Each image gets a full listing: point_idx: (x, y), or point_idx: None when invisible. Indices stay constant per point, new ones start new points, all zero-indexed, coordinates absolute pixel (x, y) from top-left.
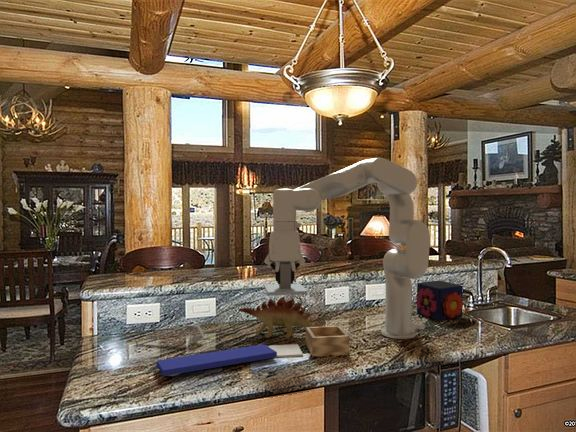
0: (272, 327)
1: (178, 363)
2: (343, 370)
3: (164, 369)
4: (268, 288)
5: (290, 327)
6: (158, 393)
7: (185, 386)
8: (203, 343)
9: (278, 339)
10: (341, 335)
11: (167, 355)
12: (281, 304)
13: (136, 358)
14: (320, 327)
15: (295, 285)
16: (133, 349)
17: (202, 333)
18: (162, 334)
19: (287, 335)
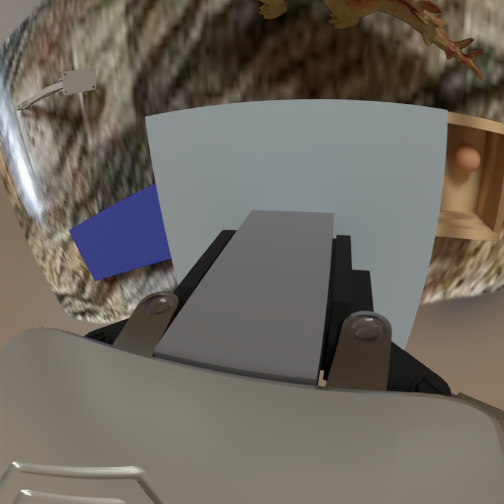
0: (282, 3)
1: (100, 254)
2: (421, 300)
3: (95, 278)
4: (181, 244)
5: (352, 20)
6: (117, 306)
7: (138, 296)
8: (106, 80)
9: (307, 38)
10: (495, 181)
11: (68, 160)
12: None
13: (41, 174)
14: (456, 123)
15: (394, 172)
16: (25, 131)
17: (87, 77)
18: (31, 102)
19: (339, 24)
